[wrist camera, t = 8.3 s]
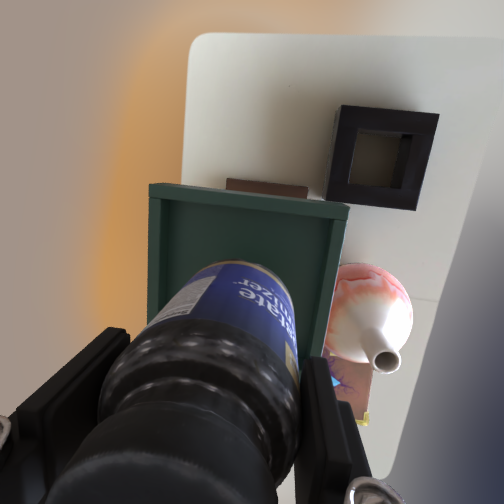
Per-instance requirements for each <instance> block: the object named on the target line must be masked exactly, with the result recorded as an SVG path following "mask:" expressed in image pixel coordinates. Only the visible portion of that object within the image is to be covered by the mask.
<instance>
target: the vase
mask: <svg viewBox="0 0 504 504" xmlns="http://www.w3.org/2000/svg"><path fill="white" fill-rule="evenodd" d="M412 323H413V312H412V305H411V302H410V299H409V297H408V294H407V293H406V291H405V289H404V287H403V286H402V285H401V284H400V282H399V281H398V280H397V279H396V278H395V277H394V276H392V275H391V274H390V273H389V272H387V271H385V270H384V269H382V268H379V267H377V266H374V265H370V264H366V263H350V264H345V265H341V266H339V269H338V274H337V279H336V284H335V289H334V295H333V300H332V305H331V310H330V316H329V321H328V326H327V331H326V337H325V342H324V346H325V347H326V348H327V349H328V350H329V351H330V352H332V353H333V354H335V355H336V356H338V357H340V358H342V359H345V360H348V361H351V362H356V363H370V364H371V366H372V368H373V369H374V370H375V371H377V372H379V373H382V374H388V373H392V372H394V371H395V370H397V369H398V367H399V366H400V363H401V358H400V355H399V353H398V350H399V349H400V348H401V347H402V346H403V344H404V343H405V342H406V340H407V338H408V336H409V334H410V331H411V327H412Z"/></svg>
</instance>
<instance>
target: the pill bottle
mask: <svg viewBox="0 0 504 504" xmlns="http://www.w3.org/2000/svg"><path fill="white" fill-rule="evenodd" d="M97 422H98V425H97V426H96V427H95V428H94V429H93V430H92V431H91V433H89V434H88V435H87V436H86V438H85V439H84V440H83V442H82V443H81V445H80V447H79V448H78V449H77V451H76V452H75V454H74V455H73V457H72V458H71V460H70V461H69V462H68V463H67V464H66V466H65V468H64V469H63V471H62V472H61V473H60V475H59V476H58V477H57V479H56V480H55V482H54V484H53V485H52V487H51V490H50V492H49V494H48V497H47V499H46V502H45V504H278V496H277V492H276V489H277V487H278V486H279V485H281V483H282V482H283V481H284V479H285V478H286V477H287V475H288V473H289V472H290V470H291V467H292V466H293V464H294V461H295V459H296V456H297V454H298V451H299V448H300V442H301V439H302V428H303V417H302V406H301V395H300V383H299V370H298V357H297V343H296V331H295V315H294V307H293V303H292V299H291V297H290V294H289V292H288V290H287V288H286V286H285V285H284V284H283V282H282V281H281V280H280V278H279V277H278V276H277V275H276V274H274V273H273V272H272V271H271V270H270V269H268V268H266V267H264V266H263V265H260V264H257V263H249V262H247V261H245V260H243V259H238V258H232V259H223V260H219V261H216V262H213V263H211V264H209V265H207V266H205V267H204V268H202V269H201V270H199V271H198V272H197V273H195V274H194V275H193V276H192V277H191V278H190V280H189V281H188V282H187V283H186V284H185V285H184V286H183V287H182V288H181V290H180V291H179V292H178V293H177V294H176V295H175V296H174V297H173V298H172V299H171V300H170V301H169V303H168V304H167V305H166V306H165V307H164V308H163V309H162V310H161V311H160V312H159V313H158V314H157V315H156V317H155V318H154V319H153V320H152V321H151V322H150V323H149V324H148V325H147V326H146V327H145V328H144V329H143V330H142V332H141V333H140V334H139V335H138V336H137V337H136V338H135V339H134V340H133V341H132V342H131V343H130V344H129V345H128V346H127V347H126V348H125V350H124V351H123V352H121V354H120V355H119V356H118V357H117V359H116V360H115V361H114V363H113V365H112V366H111V367H110V370H109V372H108V373H107V375H106V377H105V380H104V382H103V384H102V387H101V392H100V396H99V401H98V408H97Z"/></svg>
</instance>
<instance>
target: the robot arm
mask: <svg viewBox="0 0 504 504" xmlns="http://www.w3.org/2000/svg"><path fill="white" fill-rule="evenodd" d="M129 344H130V334H127V333H126V330H125V329H121V328H114V327H108V328H107V329H105V330H104V331H103V332H102V333H101V334H100V335H98V336H97V337H96V338H95V339H94V340H93V341H92V342H91V343H89V344H88V345H87V346H86V347H85V348H84V349H83V350H82V351H80V352H79V353H78V354H77V355H76V356H75V357H74V358H73V359H71V360H70V361H69V362H68V363H67V364H66V365H65V366H63V368H61V369H60V370H59V371H58V372H57V373H56V374H54V376H52V377H51V378H50V379H49V380H48V381H47V382H45V383H44V384H43V385H42V386H41V387H40V388H39V389H38V390H36V391H35V392H34V393H33V394H32V395H31V396H30V397H29V398H27V399H26V400H25V401H24V402H23V403H22V404H21V405H20V406H18V407H17V408H16V411H15V412H13V414H11V415H10V416H9V417H8V418H7V417H5V416H1V415H0V504H45V502H46V499H47V497H48V494H49V492H50V490H51V487H52V485H53V484H54V482H55V480H56V479H57V477H58V476H59V475H60V473H61V472H62V471H63V469H64V468H65V466H66V464H67V463H68V462H69V461H70V460H71V458H72V457H73V455H74V454H75V452H76V451H77V449H78V448H79V447H80V445H81V443H82V442H83V440H84V439H85V438H86V436H87V435H88V434H89V433H91V431H92V430H93V429H94V428H95V427H96V426H97V425H98V422H97V408H98V401H99V396H100V392H101V387H102V384H103V382H104V380H105V377H106V375H107V373H108V372H109V370H110V367H111V366H112V365H113V363H114V361H115V360H116V359H117V357H118V356H119V355H120V354H121V352H123V351H124V350H125V348H126V347H127V346H128V345H129ZM300 395H301V406H302V417H303V428H302V439H301V442H300V448H299V451H298V454H297V456H296V459H295V461H294V473H295V474H294V475H295V498H296V504H406V503H405V501H404V500H403V499H402V497H401V496H400V495H399V494H398V493H397V492H396V491H395V490H394V489H393V488H392V487H391V486H389V485H387V484H386V483H384V482H383V481H381V480H378V479H376V478H373V477H372V474H371V471H370V467H369V464H368V461H367V457H366V454H365V451H364V447H363V444H362V441H361V437H360V434H359V431H358V427H357V424H356V421H355V417H354V414H353V411H352V407H351V405H350V403H349V402H348V401H342V400H337V398H336V394H335V390H334V386H333V382H332V378H331V374H330V370H329V365H328V361H327V358H324V357H317V356H310V358H309V360H308V359H304V361H303V366H302V372H301V378H300Z"/></svg>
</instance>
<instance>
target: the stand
mask: <svg viewBox="0 0 504 504" xmlns="http://www.w3.org/2000/svg"><path fill="white" fill-rule="evenodd" d="M308 188H309V187H303V186H294V185H285V184H276V183H267V182H259V181H250V180H241V179H232V178H227V181H226V190H232V191H241V192H250V193H259V194H267V195H276V196H285V197H294V198H302V199H307V195H308Z"/></svg>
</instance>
